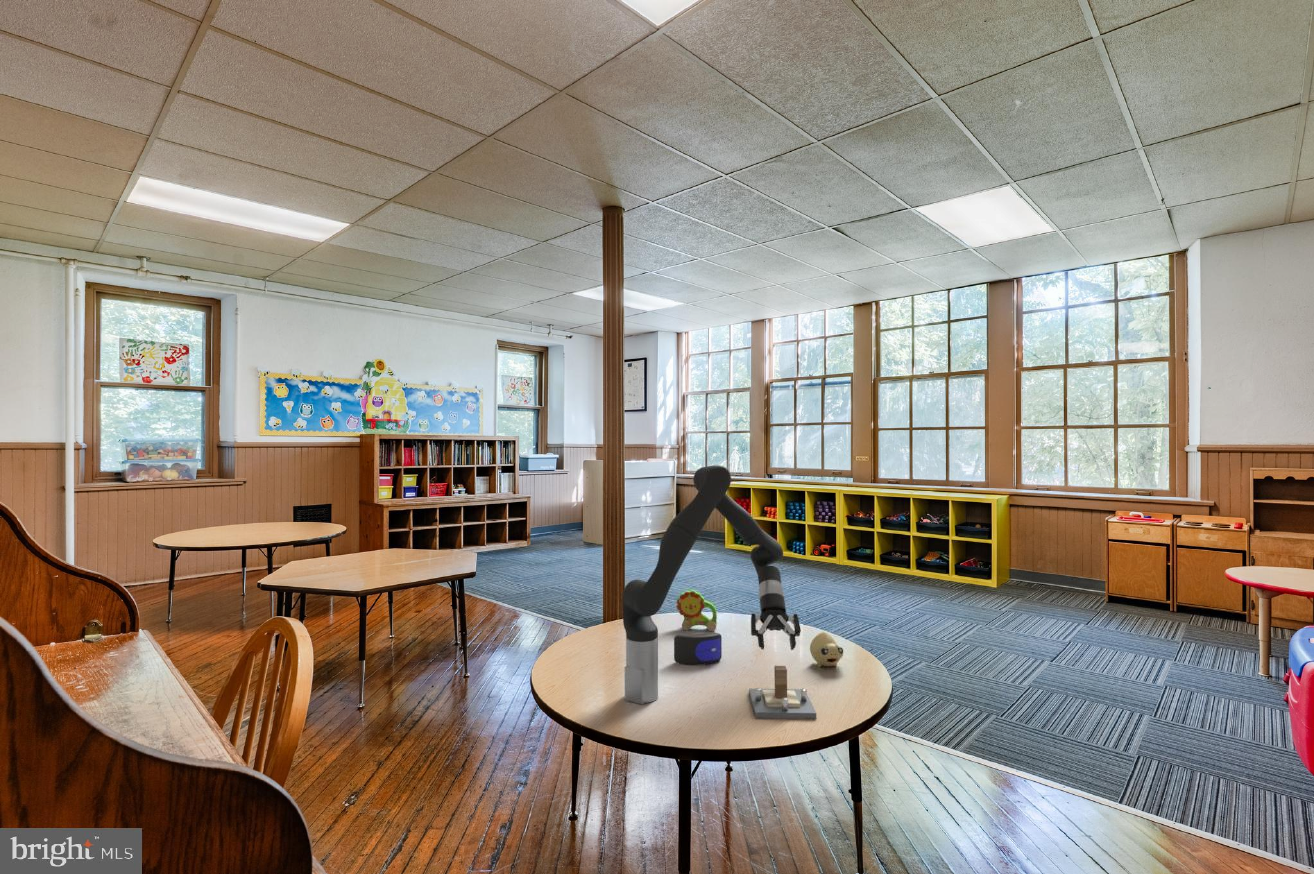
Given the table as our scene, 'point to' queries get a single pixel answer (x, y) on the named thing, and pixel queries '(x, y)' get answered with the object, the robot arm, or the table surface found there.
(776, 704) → the handled board
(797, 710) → the base board
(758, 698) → the standoff pins
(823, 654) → the yellow toy animal
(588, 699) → the table surface
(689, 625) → the toy lion
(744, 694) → the table surface
